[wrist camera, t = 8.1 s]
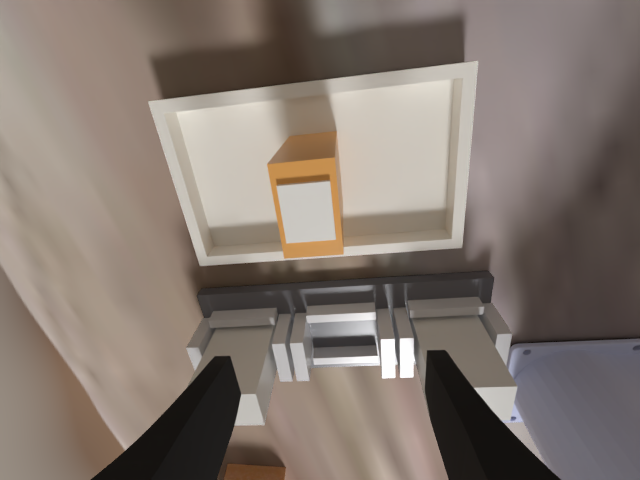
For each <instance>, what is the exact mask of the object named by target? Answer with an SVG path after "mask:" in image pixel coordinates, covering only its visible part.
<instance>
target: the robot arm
mask: <svg viewBox="0 0 640 480" xmlns="http://www.w3.org/2000/svg"><path fill="white" fill-rule="evenodd" d="M525 350H526V351H525ZM506 367H507V369H508V370H509V372H510V374H511V376H512V377H513V379H514V381H515V383H516V385H517V386H518V387H517V391H516V396H515V401H514V405H513V410H512V415H511V419H510V420H500V418H499V417H498V416H497V415H496V414H495V413H494V412H493V411H492V409H491V408H490V407H489V406H488V405H487V403H486V402H485V401H484V400H483V399H482V397H481V396H480V395H479V394H478V393H477V391H476V390H475V389H474V388H473V386H472V385H471V384H470V383H469V381H468V380H467V379H466V377H465V376H464V375H463V373H462V372H461V371H460V369H459V368H458V367H457V365H456V364H455V362H454V361H453V359H452V358H451V357H450V355H449V354H448V352H447V351H446V350H427V357H426V376H425V395H426V400H427V405H428V410H429V415H430V420H431V423H432V427H433V430H434V433H435V437H436V440H437V443H438V446H439V450H440V453H441V456H442V459H443V462H444V466H445V469H446V472H447V475H448V478H449V480H640V339H619V340H595V341H570V342H546V343H521V344H514V345H512V346H511V347H510V350H509V356H508V361H507V366H506ZM240 398H241V391H240V387H239V384H238V381H237V377H236V374H235V370H234V367H233V363H232V360H231V357H230V356H214V357H213V359H212V360H211V361H210V362H209V363H208V364H207V365H206V366H205V368H204V369H203V370H202V371H201V372H200V373H199V375H198V376H197V377H196V378H195V379H194V380H193V382H192V383H191V384H190V385H189V386H188V387H187V388H186V390H185V391H184V392H183V393H182V394H181V395H180V396H179V397H178V398H177V400H176V401H175V402H174V403H173V404H172V405H171V406H170V407H169V408H168V409H167V410H166V411H165V412H164V414H163V415H162V416H161V417H160V418H159V419H158V420H157V421H156V422H155V423H154V424H153V425H152V426H151V427H150V428H149V429H148V430H147V431H146V432H145V433H144V434H143V435H142V436H141V437H140V438H139V439H138V440H137V441H135V442H134V443H133V444H132V445H131V446H130V447H129V448H128V449H127V450H126V451H124V452H123V453H122V454H121V455H120V456H119V457H118V458H117V459H115V460H114V461H113V462H112V463H111V464H109V465H108V466H107V467H106V468H104V469H103V470H102V471H101V472H100V473H98V474H97V475H96V476H95V477H94V478H92V479H91V480H216V479H217V476H218V473H219V470H220V467H221V464H222V461H223V458H224V455H225V452H226V449H227V446H228V443H229V440H230V437H231V434H232V431H233V428H234V425H235V422H236V417H237V413H238V408H239V403H240ZM503 422H505V423H506V422H524V424H525V426H526V428H527V430H528V432H529V434H530V436H531V438H532V440H533V441H534V443H535V445H536V447H537V449H538V451H539V453H540V455H541V457H542V459H543V461H544V463H545V464H544V463H542V462H541V461H540V460H539V459H538V458H537V457H536V456H535V455H534V454H533V453H532V452H531V451H530V450H529V449H528V448H527V447H526V446H525V445H524V444H523V443H522V442H521V441H520V440H519V439H518V438H517V437H516V436H515V435H514V434H513V433H512V432H511V431H510V429H509V428H508V427H507V426H506V425H505V424H504V423H503Z"/></svg>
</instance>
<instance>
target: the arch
mask: <svg viewBox="0 0 640 480" xmlns="http://www.w3.org/2000/svg"><path fill="white" fill-rule="evenodd" d="M285 470H286V467H274V466H258V465H243V464H228V465H227V469H226V473H225V476H224V480H284V478H285Z"/></svg>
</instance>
